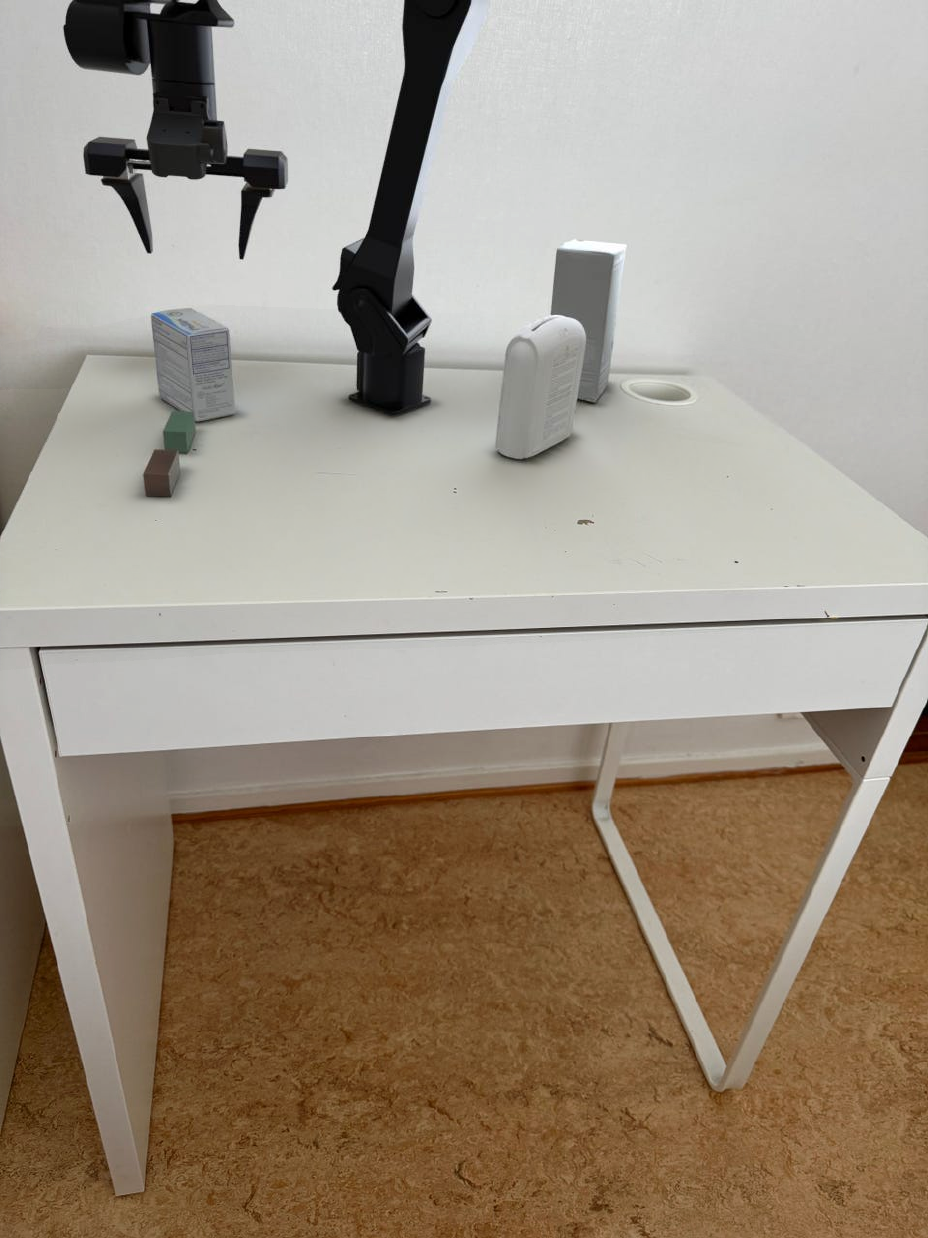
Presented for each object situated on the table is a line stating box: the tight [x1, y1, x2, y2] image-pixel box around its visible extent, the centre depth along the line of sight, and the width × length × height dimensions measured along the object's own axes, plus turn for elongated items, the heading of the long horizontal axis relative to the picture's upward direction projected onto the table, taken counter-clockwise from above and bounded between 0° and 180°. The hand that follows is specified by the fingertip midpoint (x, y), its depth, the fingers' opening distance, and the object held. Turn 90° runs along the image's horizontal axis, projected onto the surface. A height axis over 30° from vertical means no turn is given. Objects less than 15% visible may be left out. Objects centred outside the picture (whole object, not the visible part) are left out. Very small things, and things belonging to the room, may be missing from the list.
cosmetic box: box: [550, 239, 628, 403], centre depth 102 cm, size 8×7×16 cm
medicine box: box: [150, 307, 236, 422], centre depth 89 cm, size 8×4×9 cm, turn 41°
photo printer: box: [495, 314, 586, 460], centre depth 87 cm, size 10×4×12 cm, turn 146°
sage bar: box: [162, 410, 196, 454], centre depth 83 cm, size 5×2×2 cm, turn 6°
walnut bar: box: [142, 448, 181, 498], centre depth 76 cm, size 5×2×2 cm, turn 6°
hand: (196, 255), depth 94 cm, fingers open, 9 cm apart
